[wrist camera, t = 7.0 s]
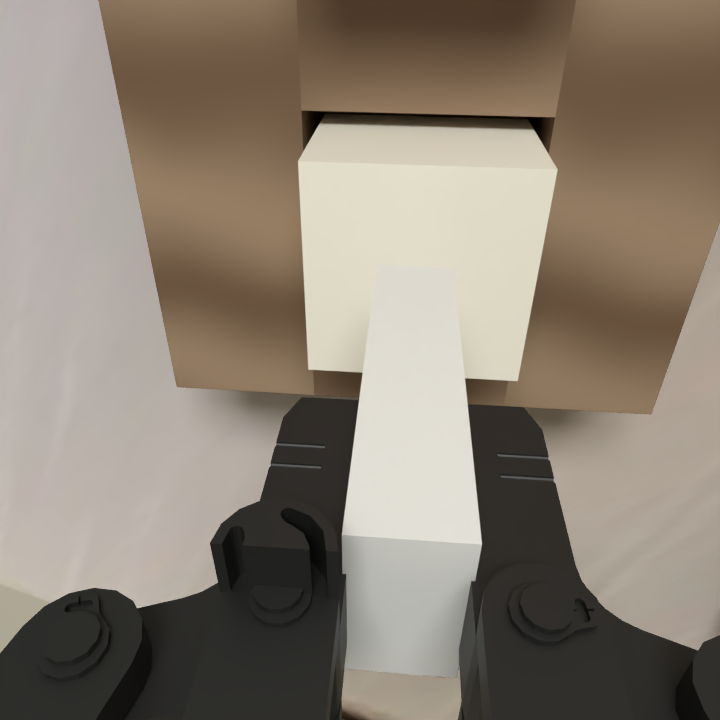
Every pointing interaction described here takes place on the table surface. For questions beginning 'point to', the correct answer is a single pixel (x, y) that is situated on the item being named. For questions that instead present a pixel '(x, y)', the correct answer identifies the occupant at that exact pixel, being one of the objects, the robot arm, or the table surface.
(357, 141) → the button
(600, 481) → the table surface
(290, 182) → the wooden button box
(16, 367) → the table surface
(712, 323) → the table surface
